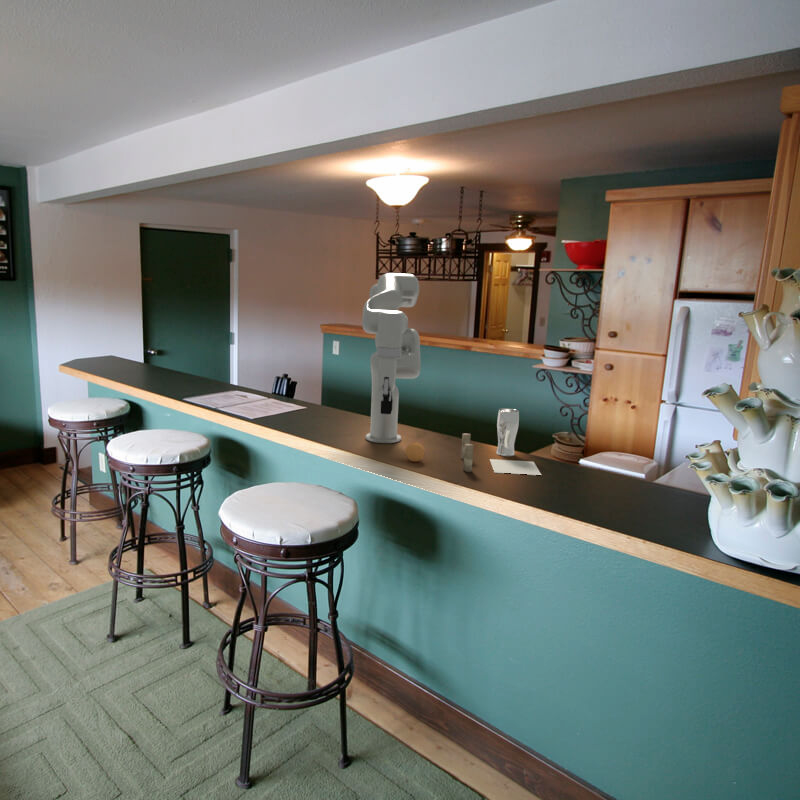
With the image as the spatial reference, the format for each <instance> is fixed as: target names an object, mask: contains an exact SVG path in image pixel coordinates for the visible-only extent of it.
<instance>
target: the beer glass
mask: <svg viewBox="0 0 800 800" xmlns="http://www.w3.org/2000/svg"><path fill="white" fill-rule="evenodd" d="M519 413H520V411H519V410H518V409H516V408H507V407H506V408H504V407H502V408H499V409H498V413H497V420H496V422H497V423H496V428H497V430H496V431H497V441H498V442H497V449H496V452H495V453H496V455H498V456H500V455H501V457H513V456H515V443H516V437H517V434H518V430H519V422H520V414H519Z"/></svg>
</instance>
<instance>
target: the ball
mask: <svg viewBox="0 0 800 800" xmlns="http://www.w3.org/2000/svg"><path fill="white" fill-rule="evenodd" d="M425 453H426V451H425V447H424V446H423V445H422V444H421V443H419V442H417V441H415V442H411V443H409V444H408V445H407V446H406V449H405V456H406V458H407V459H408V460H409V461H410V462H413V463H415V462H416V463H417V462H419V461H421V460H422V459H423V458H424V457H425Z"/></svg>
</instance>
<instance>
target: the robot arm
mask: <svg viewBox="0 0 800 800" xmlns="http://www.w3.org/2000/svg"><path fill="white" fill-rule="evenodd" d="M419 294H420V283H419V280H418V277H416V275H414V274H412V273H395V272H389V273H384V274H382V275H381V276H379V278H378V280H377V283H375V284H374V285H372V286H371V288H370V291H369V298H368V299H367V300H366V301H365V302H364V305H363V308H362V317H361V318H362V319H361V325H362V329H363V331H364V332H366V333H367V334H369V335H370V334H371V335H374V334H375V335H374V336H375V337H374V338H375V339H374V340H375V342H374V343H375V344H374V345H375V348H376V351H374V352H373V353H372V354H371V356H370V360H369V361H370V373H371V374H370V376H371V399H370V400H371V401H370V402H371V404H370V405H371V406H370V430H369V432H368V433H366V434H365V440H367V441H369V442H372V443H377V444H378V443H379V444H392V443H398V442H400V441H402V435H400V434H398V417H399V416H398V415H399V398H400V397H399V396H400V392H399V388H398V386H397V385H396V381H397V379H404V380H405V379H407V380H413V379H416V378H418V377H419V375H420V374H421V367H422V365H421V364H422V362H421V345H420V344H421V342H420V335H419V332H418V331H417V330H416V329H415V328H411V327H408V326H409V319H408V316H407V315H406V314H405V312H403V311H402V310H401V311H400V310H399V309H400V308H412V307H414V306H415V305H416V304H417V301H418V298H419Z"/></svg>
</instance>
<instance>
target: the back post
mask: <svg viewBox="0 0 800 800" xmlns="http://www.w3.org/2000/svg"><path fill="white" fill-rule="evenodd" d="M471 435H472V434H471V433H462V436H461V438H462V439H461V449H460V459H461V460H464V448H465V444H471Z"/></svg>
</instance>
